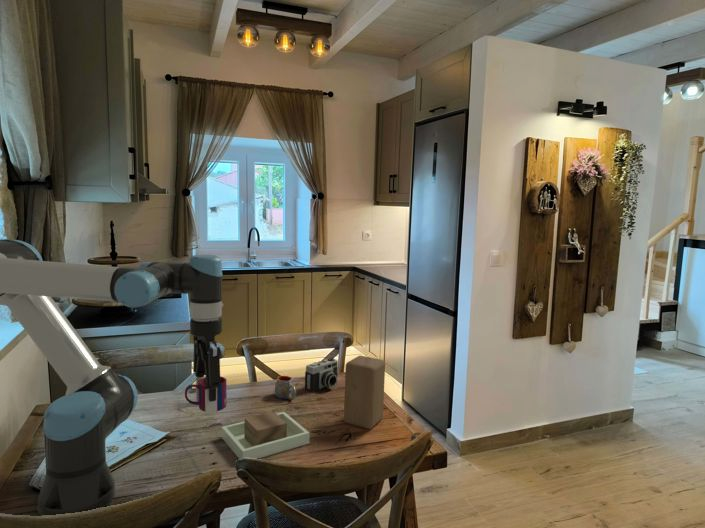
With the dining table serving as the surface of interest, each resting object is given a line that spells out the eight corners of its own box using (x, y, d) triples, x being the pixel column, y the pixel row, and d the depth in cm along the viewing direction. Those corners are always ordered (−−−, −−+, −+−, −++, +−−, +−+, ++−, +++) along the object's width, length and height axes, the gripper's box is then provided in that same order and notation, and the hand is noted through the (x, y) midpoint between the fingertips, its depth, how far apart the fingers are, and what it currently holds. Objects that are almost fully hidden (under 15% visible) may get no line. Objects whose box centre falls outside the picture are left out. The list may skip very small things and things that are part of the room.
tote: (242, 465, 123) (243, 451, 123) (221, 440, 136) (221, 426, 136) (309, 445, 135) (309, 432, 134) (283, 423, 148) (284, 411, 147)
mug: (271, 394, 171) (271, 376, 170) (289, 390, 174) (289, 373, 174) (284, 406, 161) (284, 387, 160) (303, 402, 164) (303, 384, 163)
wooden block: (342, 423, 150) (344, 362, 147) (356, 411, 159) (359, 354, 156) (370, 430, 145) (373, 368, 143) (383, 418, 154) (386, 359, 152)
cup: (226, 411, 117) (226, 384, 116) (184, 414, 115) (183, 387, 114) (226, 400, 124) (226, 375, 123) (186, 403, 121) (186, 377, 120)
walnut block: (257, 451, 129) (257, 430, 128) (244, 437, 136) (244, 418, 136) (286, 443, 134) (286, 423, 134) (272, 430, 142) (273, 411, 141)
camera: (316, 395, 171) (316, 368, 170) (302, 388, 178) (302, 362, 177) (345, 387, 180) (346, 361, 179) (331, 381, 186) (331, 356, 186)
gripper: (235, 325, 110) (234, 418, 113) (208, 308, 126) (208, 390, 129) (203, 328, 106) (203, 425, 109) (179, 311, 122) (180, 396, 125)
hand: (206, 406), depth 119 cm, fingers closed on cup, 7 cm apart
